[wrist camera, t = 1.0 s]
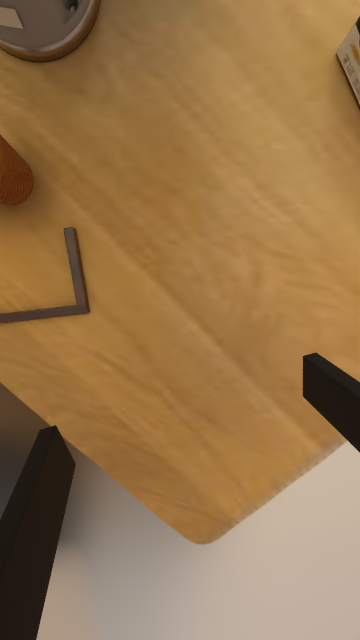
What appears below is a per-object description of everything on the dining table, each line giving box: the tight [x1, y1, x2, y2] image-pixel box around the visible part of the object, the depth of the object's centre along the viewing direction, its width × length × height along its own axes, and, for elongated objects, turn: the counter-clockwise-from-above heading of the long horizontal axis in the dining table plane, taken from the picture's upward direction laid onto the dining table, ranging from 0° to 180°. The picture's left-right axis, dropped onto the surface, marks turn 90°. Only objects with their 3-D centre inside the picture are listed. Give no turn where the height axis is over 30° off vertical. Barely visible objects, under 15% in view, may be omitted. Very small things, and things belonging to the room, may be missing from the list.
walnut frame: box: [0, 227, 90, 323], centre depth 33 cm, size 11×15×1 cm
